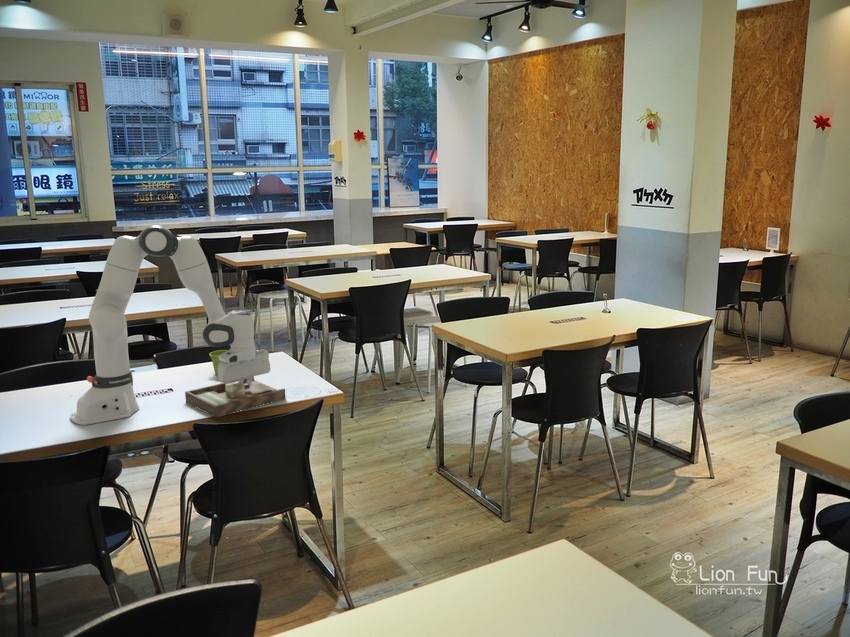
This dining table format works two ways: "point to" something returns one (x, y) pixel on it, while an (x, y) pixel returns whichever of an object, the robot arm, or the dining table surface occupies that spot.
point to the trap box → (232, 398)
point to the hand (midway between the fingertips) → (246, 388)
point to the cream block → (234, 389)
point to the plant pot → (216, 359)
